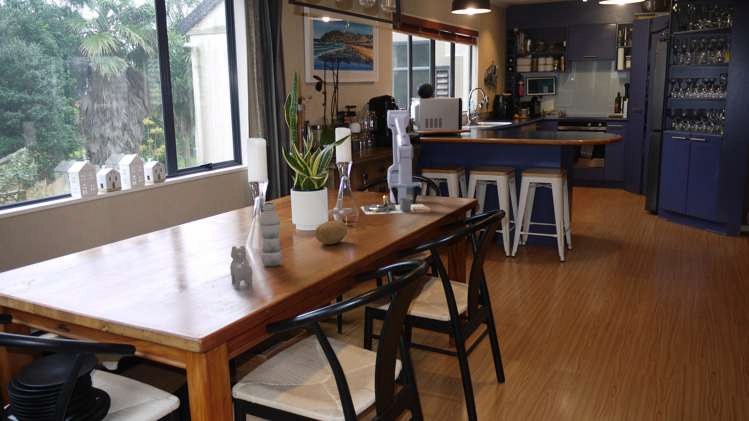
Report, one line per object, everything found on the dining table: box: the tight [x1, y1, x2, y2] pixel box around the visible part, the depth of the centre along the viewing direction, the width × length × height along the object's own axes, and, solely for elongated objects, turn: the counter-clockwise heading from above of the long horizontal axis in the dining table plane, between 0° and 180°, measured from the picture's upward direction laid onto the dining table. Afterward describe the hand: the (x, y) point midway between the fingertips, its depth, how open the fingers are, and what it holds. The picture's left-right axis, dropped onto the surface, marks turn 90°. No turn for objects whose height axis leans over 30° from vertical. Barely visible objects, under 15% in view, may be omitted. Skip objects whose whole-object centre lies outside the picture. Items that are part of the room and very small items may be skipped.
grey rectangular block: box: [399, 197, 412, 213], centre depth 271 cm, size 6×4×5 cm, turn 10°
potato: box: [314, 219, 348, 246], centre depth 221 cm, size 10×14×8 cm
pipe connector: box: [327, 198, 353, 221], centre depth 253 cm, size 10×10×10 cm
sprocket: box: [363, 195, 396, 214], centre depth 274 cm, size 14×14×6 cm
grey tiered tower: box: [258, 202, 283, 267], centre depth 194 cm, size 6×7×20 cm
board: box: [360, 203, 432, 215], centre depth 276 cm, size 17×29×2 cm, turn 100°
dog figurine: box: [229, 245, 254, 291], centre depth 177 cm, size 5×13×11 cm, turn 23°
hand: (405, 204), depth 271 cm, fingers open, 7 cm apart
